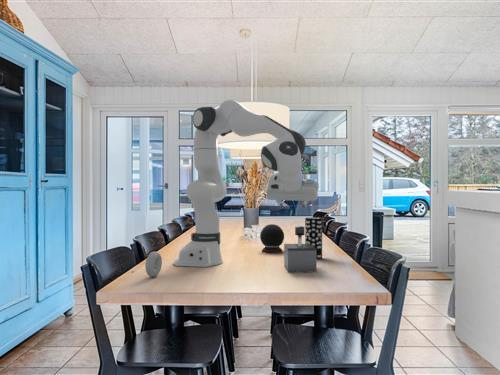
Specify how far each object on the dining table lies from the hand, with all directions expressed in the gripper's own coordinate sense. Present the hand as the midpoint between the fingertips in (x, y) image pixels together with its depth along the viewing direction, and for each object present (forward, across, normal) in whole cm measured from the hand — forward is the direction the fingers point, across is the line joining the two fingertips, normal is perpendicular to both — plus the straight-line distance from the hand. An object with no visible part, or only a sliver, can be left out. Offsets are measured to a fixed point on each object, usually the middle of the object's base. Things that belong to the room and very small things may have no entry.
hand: (292, 206), depth 151 cm
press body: (+27, -3, +12) cm, 29 cm away
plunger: (+26, -3, +11) cm, 28 cm away
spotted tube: (+44, -7, -8) cm, 46 cm away
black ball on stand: (+54, +16, -18) cm, 59 cm away
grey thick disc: (+10, +52, +32) cm, 62 cm away
